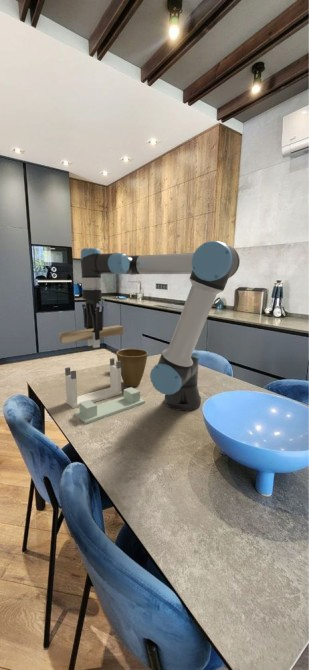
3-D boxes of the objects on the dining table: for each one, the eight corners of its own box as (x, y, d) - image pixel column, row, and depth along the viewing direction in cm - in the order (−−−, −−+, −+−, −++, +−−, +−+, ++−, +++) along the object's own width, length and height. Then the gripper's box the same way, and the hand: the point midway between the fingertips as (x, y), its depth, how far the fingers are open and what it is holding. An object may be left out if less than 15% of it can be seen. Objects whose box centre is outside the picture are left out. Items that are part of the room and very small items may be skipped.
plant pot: (146, 390, 130) (147, 356, 127) (114, 389, 131) (114, 356, 127) (148, 378, 145) (148, 348, 142) (119, 378, 145) (118, 348, 142)
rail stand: (121, 393, 126) (121, 361, 123) (73, 408, 112) (71, 372, 108) (113, 388, 131) (112, 357, 128) (66, 402, 117) (64, 367, 114)
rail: (123, 334, 123) (123, 326, 123) (63, 343, 106) (63, 334, 105) (118, 333, 126) (118, 325, 125) (59, 341, 109) (59, 332, 108)
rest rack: (145, 403, 117) (145, 391, 116) (85, 424, 100) (85, 411, 99) (132, 396, 124) (132, 385, 123) (74, 414, 107) (73, 402, 106)
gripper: (111, 289, 108) (112, 348, 113) (90, 288, 121) (92, 341, 125) (93, 290, 103) (95, 351, 108) (73, 288, 116) (76, 344, 120)
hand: (93, 346), depth 117 cm, fingers closed on rail, 3 cm apart
